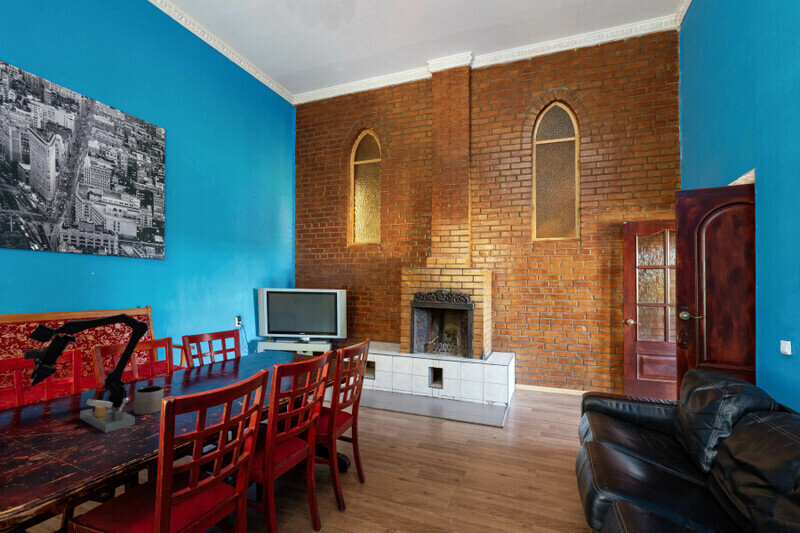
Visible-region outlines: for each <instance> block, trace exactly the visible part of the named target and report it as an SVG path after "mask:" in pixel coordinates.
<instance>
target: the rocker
mask: <svg viewBox="0 0 800 533" xmlns="http://www.w3.org/2000/svg"><path fill="white" fill-rule="evenodd" d="M112 404H113V403H111V402H109V401H107V400H99V399H91V398H88V399H87V401H86V405H88V406H91V407H92V406H100V405H105V406H106V407H109V408H111V406H112Z"/></svg>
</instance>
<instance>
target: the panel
mask: <svg viewBox="0 0 800 533" xmlns="http://www.w3.org/2000/svg"><path fill="white" fill-rule="evenodd" d="M103 406H105V405H103ZM95 407H96V406H91V408H89V409H85V410H81V411H79V412H80V415H79V420H82V421H84V422H86V423H88V424H89V425H91V426H93V427H94V428H96V429H99V430H100V431H101V432H104V433H108V432H113V431H116V430H120V429H124V428H126V427H131V426H134V425H135V424H136V422H135V421H136V417H135V416H134V415H133V414H132V415H131V414H130V413H127V412H126V411H123V410H121V412H120V413H118V414H115V416H114V413H116V412H117V411H118V410H119V408H117V407H112V406H111V408H109V407H106V413H105V416H101V417H97V416H95Z"/></svg>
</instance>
